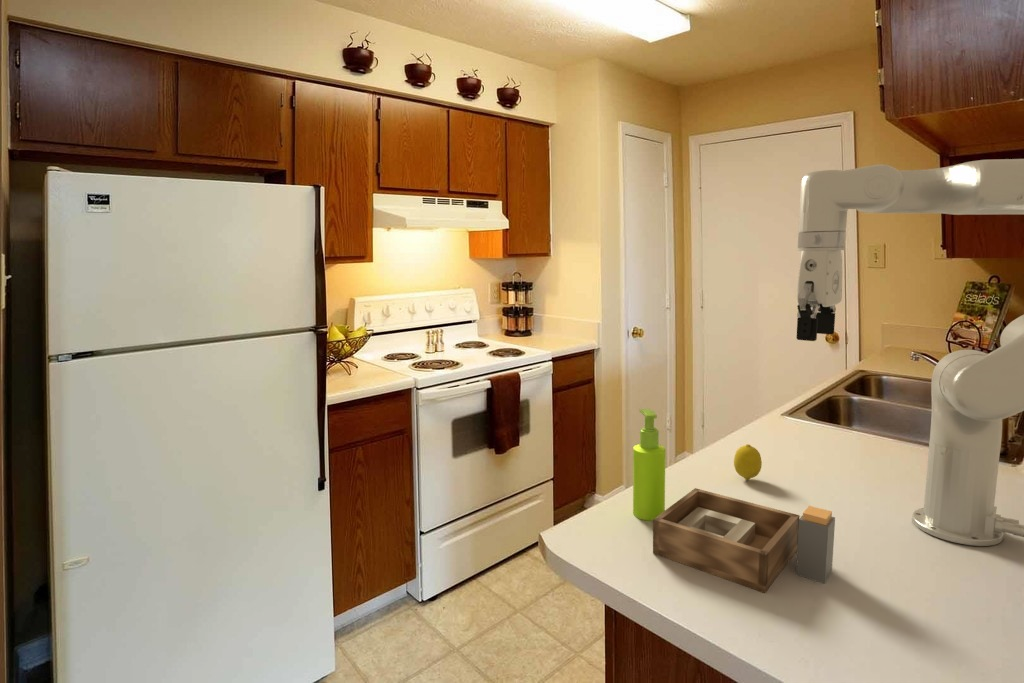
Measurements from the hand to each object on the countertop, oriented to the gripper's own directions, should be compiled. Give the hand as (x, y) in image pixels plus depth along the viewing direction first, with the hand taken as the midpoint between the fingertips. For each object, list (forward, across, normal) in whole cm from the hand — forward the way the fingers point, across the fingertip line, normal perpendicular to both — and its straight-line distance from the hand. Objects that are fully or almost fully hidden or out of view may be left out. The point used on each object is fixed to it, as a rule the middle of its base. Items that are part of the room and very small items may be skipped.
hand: (815, 336), depth 106 cm
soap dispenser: (+34, -22, +21) cm, 45 cm away
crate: (+33, -26, +4) cm, 42 cm away
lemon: (+34, +6, +14) cm, 37 cm away
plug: (+33, -23, -9) cm, 41 cm away
